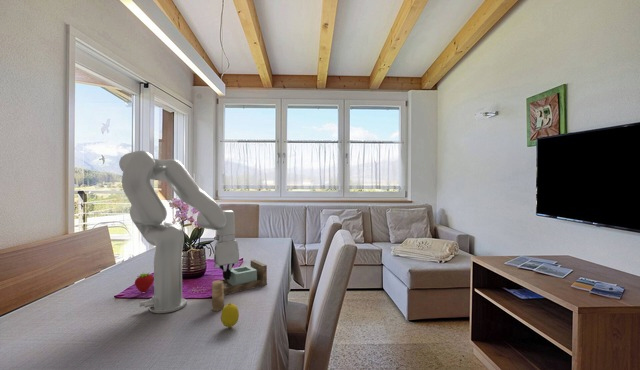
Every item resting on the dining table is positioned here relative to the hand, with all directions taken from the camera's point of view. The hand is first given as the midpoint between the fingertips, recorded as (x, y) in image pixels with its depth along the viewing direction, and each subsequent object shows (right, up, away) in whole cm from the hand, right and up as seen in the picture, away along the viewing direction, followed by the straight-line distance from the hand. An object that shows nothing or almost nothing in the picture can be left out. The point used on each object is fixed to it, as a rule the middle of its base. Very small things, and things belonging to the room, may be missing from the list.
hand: (226, 278), depth 131 cm
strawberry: (-34, -5, -5) cm, 34 cm away
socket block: (+6, -3, +4) cm, 8 cm away
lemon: (+12, -5, -36) cm, 39 cm away
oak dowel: (+4, -4, -22) cm, 22 cm away
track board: (+5, -4, +4) cm, 8 cm away
